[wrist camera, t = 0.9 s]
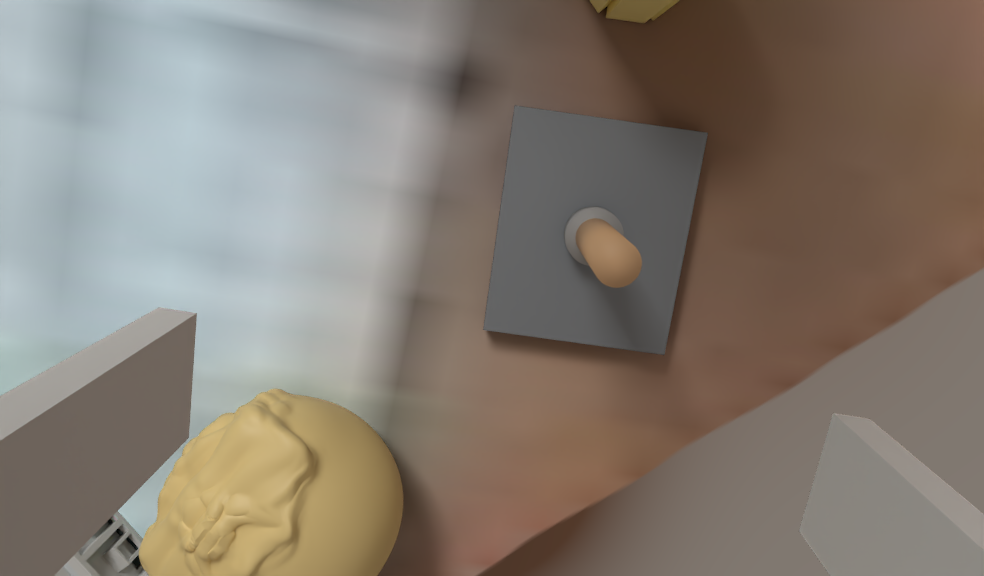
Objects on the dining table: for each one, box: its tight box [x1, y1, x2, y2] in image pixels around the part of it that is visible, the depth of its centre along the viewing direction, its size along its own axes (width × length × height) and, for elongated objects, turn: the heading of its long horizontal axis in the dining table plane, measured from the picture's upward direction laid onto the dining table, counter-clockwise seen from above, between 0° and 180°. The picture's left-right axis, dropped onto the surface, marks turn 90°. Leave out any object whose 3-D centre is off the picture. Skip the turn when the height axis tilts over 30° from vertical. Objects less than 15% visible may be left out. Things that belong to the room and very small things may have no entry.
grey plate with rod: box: [483, 106, 708, 355], centre depth 35 cm, size 12×10×10 cm
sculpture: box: [139, 389, 403, 576], centre depth 38 cm, size 11×12×11 cm
